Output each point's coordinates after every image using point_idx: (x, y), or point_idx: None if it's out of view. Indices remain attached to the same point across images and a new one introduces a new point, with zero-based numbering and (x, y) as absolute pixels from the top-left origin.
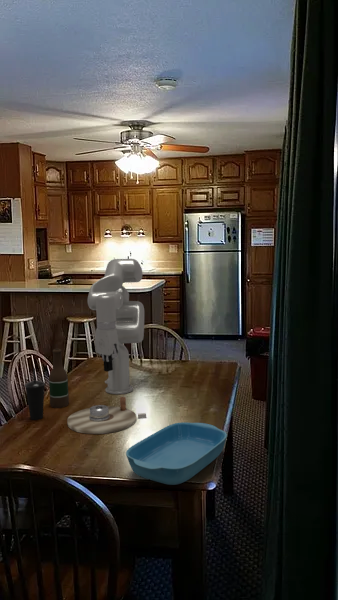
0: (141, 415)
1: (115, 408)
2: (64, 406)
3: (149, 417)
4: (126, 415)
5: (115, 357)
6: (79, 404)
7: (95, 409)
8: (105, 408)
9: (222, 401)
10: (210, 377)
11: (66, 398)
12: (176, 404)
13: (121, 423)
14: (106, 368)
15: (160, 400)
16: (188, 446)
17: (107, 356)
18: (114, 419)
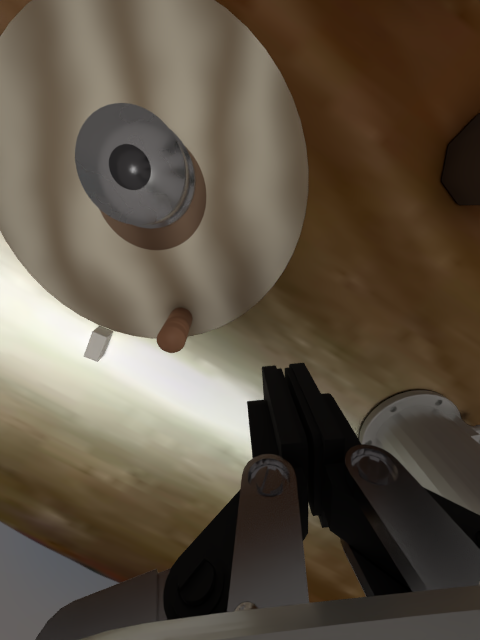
0: (90, 339)
1: (217, 304)
2: (444, 166)
3: (89, 360)
4: (109, 291)
5: (48, 637)
6: (410, 240)
7: (116, 132)
8: (100, 192)
9: (99, 560)
10: None
11: (471, 173)
12: (154, 477)
13: (23, 218)
14: (266, 385)
15: (220, 465)
16: None
17: (257, 576)
18: (89, 223)
